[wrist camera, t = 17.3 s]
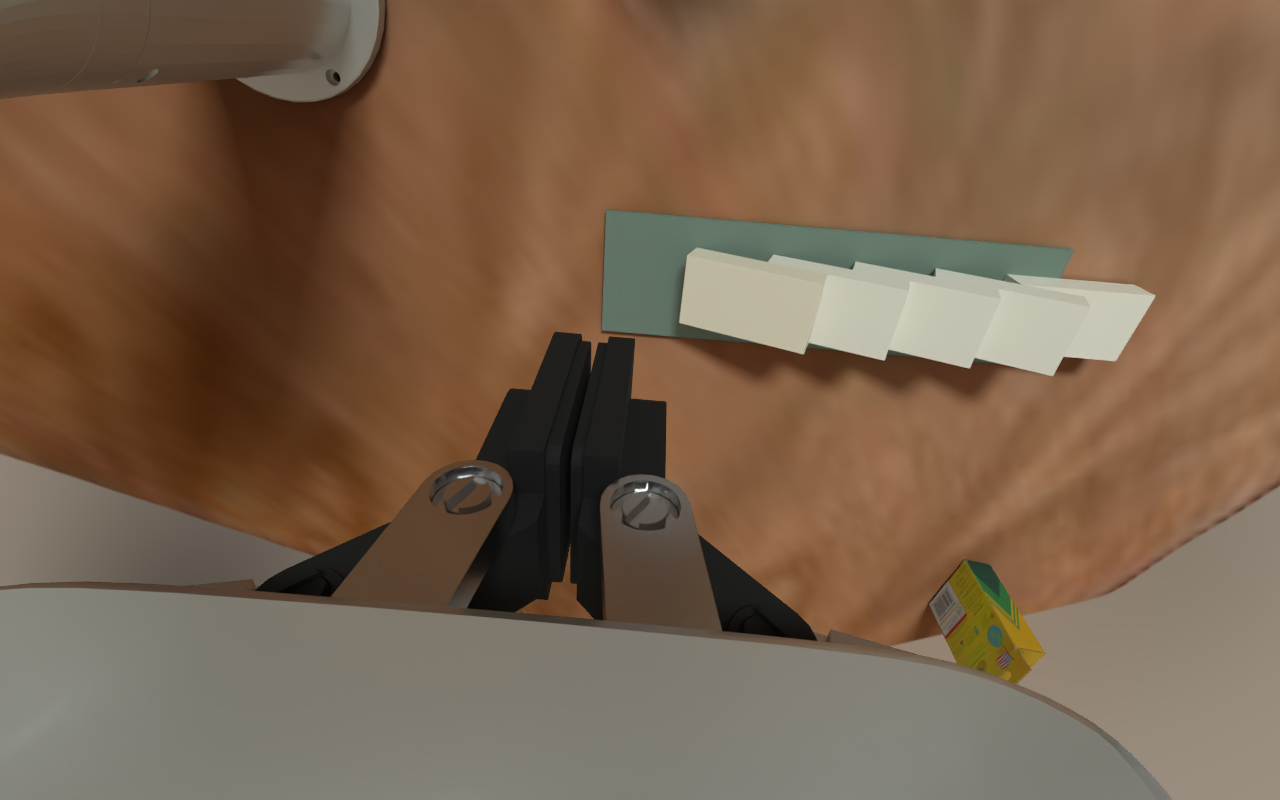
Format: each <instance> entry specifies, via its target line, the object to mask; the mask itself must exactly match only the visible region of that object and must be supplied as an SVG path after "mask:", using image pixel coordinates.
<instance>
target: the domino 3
mask: <svg viewBox="0 0 1280 800" xmlns="http://www.w3.org/2000/svg"><path fill="white" fill-rule="evenodd" d="M853 270H856V271H861V272H867V273H872V274H877V275H882V276H887V277H892V278H898V279H903V280H908V281H910V285H909V293H908V296H907V298H906V301H905V304H904V307H903V310H902V313H901V315H900V318H899V321H898V324H897V327H896V330H895V332H894V335H893V338H892V341H891V344H890V347H889V350H893V351H897V352H901V353H906V354H910V355H914V356H918V357H923V358H927V359H931V360H935V361H940V362H944V363H948V364H952V365H957V366H961V367H965V368H969V369H970V367H971V365H972V363H973V360H974V358H975V356H976V354H977V352H978V349H979V347H980V345H981V343H982V340H983V338H984V336H985V334H986V332H987V329H988V327H989V325H990V323H991V321H992V318H993V316H994V314H995V312H996V309H997V307H998V305H999V303H1000V301H1001V297H1000V293H999V290H998V289H996V288H991V287H986V286H981V285H976V284H970V283H965V282H960V281H955V280H950V279H944V278H939V277H934V276H929V275H924V274H918V273H913V272H908V271H903V270H897V269H892V268H887V267H882V266H877V265H871V264H866V263H861V262H855V265H854V267H853Z"/></svg>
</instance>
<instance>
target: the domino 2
mask: <svg viewBox="0 0 1280 800" xmlns="http://www.w3.org/2000/svg"><path fill="white" fill-rule="evenodd" d="M768 262H770V263H775V264H779V265H784V266H789V267H794V268H799V269H804V270H808V271H813V272H818V273H823V274H827V277H826V280H825V284H824V288H823V292H822V295H821V299H820V303H819V307H818V310H817V314H816V318H815V322H814V326H813V329H812V333H811V337H810V341H809V343H812V344H816V345H820V346H824V347H829V348H833V349H837V350H841V351H846V352H850V353H854V354H858V355H862V356H867V357H871V358H875V359H879V360H883V361H885V358H886V355H887V352H888V349H889V347H890V344H891V341H892V338H893V335H894V332H895V330H896V327H897V324H898V321H899V318H900V315H901V313H902V310H903V307H904V304H905V301H906V298H907V296H908V293H909V285H910V281H908V280H903V279H898V278H892V277H887V276H882V275H877V274H872V273H867V272H861V271H856V270H851V269H846V268H841V267H836V266H831V265H825V264H820V263H815V262H810V261H805V260H800V259H795V258H789V257H784V256H779V255H773V256H772V257H771V259H770V260H769V261H768Z"/></svg>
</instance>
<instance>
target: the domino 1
mask: <svg viewBox="0 0 1280 800" xmlns="http://www.w3.org/2000/svg"><path fill="white" fill-rule="evenodd" d="M826 277H827V274H823V273H818V272H813V271H808V270H804V269H799V268H794V267H789V266H784V265H779V264H775V263H770V262H765V261H760V260H755V259H750V258H746V257H741V256H736V255H731V254H726V253H721V252H717V251H712V250H707V249H702V248H696V249H694V250H693V251H692V252H691V253H689V254H688V255H687V261H686V269H685V277H684V286H683V294H682V302H681V311H680V319H679V323H682V324H686V325H690V326H693V327H697V328H701V329H705V330H709V331H713V332H717V333H721V334H725V335H729V336H733V337H737V338H741V339H745V340H748V341H752V342H756V343H760V344H764V345H768V346H772V347H776V348H780V349H784V350H788V351H792V352H796V353H799V354H803V355H804V353H805V350H806V348H807V346H808V344H809V341H810V337H811V333H812V329H813V326H814V322H815V318H816V314H817V310H818V307H819V303H820V299H821V295H822V292H823V288H824V284H825V280H826Z"/></svg>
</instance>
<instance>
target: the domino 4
mask: <svg viewBox="0 0 1280 800" xmlns="http://www.w3.org/2000/svg"><path fill="white" fill-rule="evenodd" d="M933 276H934V277H939V278H944V279H950V280H955V281H960V282H965V283H970V284H976V285H981V286H986V287H991V288H996V289H998V290H999V293H1000V297H1001V301H1000V303H999V305H998V307H997V309H996V312H995V314H994V316H993V318H992V321H991V323H990V325H989V327H988V329H987V332H986V334H985V336H984V338H983V340H982V343H981V345H980V347H979V349H978V352H977V354H976V356H975V358H977V359H982V360H986V361H990V362H995V363H999V364H1003V365H1007V366H1012V367H1016V368H1020V369H1024V370H1029V371H1033V372H1037V373H1041V374H1046V375H1050V376H1053V375H1054V373H1055V371H1056V370H1057V368H1058V366H1059V364H1060V362H1061V360H1062V359H1063V357H1064V355H1065V353H1066V351H1067V350H1068V348H1069V346H1070V344H1071V342H1072V341H1073V339H1074V337H1075V335H1076V333H1077V332H1078V330H1079V328H1080V326H1081V324H1082V323H1083V321H1084V319H1085V317H1086V315H1087V314H1088V312H1089V310H1090V308H1091V306H1090V305H1089V303H1088V301H1087V300H1086V298H1085V297H1084V296H1079V295H1073V294H1068V293H1063V292H1058V291H1053V290H1047V289H1042V288H1037V287H1032V286H1027V285H1021V284H1016V283H1011V282H1006V281H1001V280H995V279H990V278H985V277H980V276H975V275H969V274H964V273H959V272H954V271H949V270H943V269H938V268H935V271H934V274H933Z"/></svg>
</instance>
